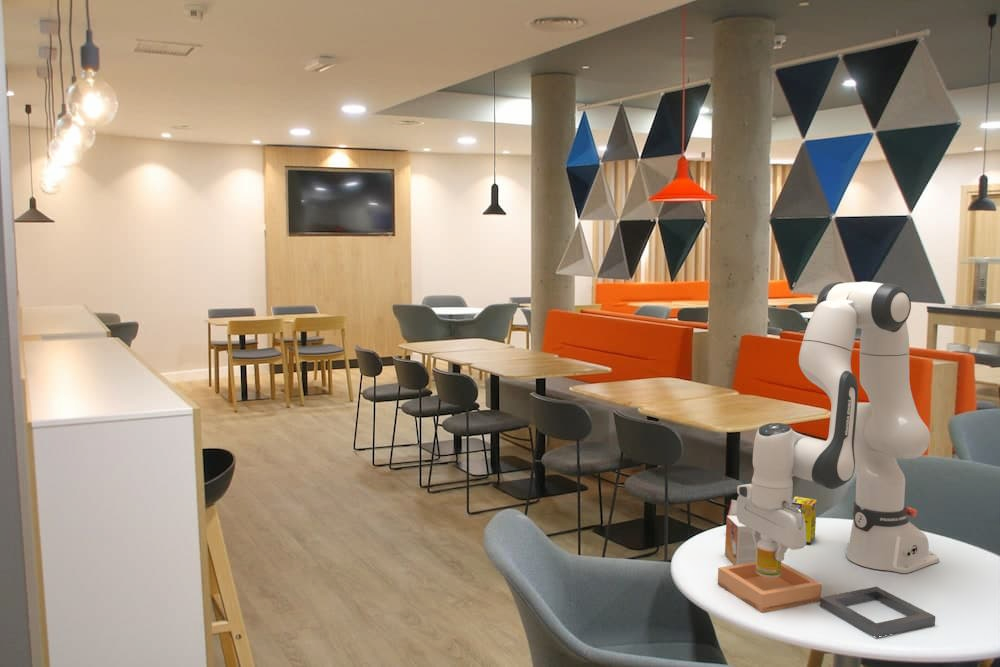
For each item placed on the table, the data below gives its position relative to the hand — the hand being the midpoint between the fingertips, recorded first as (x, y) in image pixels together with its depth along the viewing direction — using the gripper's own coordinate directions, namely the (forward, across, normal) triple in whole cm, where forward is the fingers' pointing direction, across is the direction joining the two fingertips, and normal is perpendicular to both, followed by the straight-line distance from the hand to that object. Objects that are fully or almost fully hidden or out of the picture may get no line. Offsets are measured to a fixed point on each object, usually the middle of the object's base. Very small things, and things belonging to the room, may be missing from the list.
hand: (768, 554), depth 192 cm
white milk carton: (+9, +31, -16) cm, 36 cm away
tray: (+9, 0, 0) cm, 9 cm away
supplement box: (+9, +24, -30) cm, 40 cm away
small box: (+9, +18, -6) cm, 21 cm away
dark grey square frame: (+9, -18, -14) cm, 25 cm away
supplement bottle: (+5, 0, 0) cm, 5 cm away
